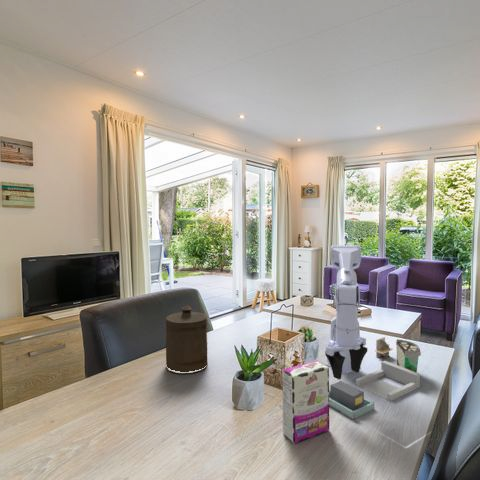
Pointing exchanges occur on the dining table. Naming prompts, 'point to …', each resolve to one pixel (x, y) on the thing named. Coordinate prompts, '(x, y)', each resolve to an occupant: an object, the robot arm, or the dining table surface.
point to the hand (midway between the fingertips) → (346, 374)
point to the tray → (351, 414)
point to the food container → (407, 354)
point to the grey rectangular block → (347, 395)
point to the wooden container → (186, 340)
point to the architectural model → (382, 348)
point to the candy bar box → (305, 401)
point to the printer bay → (385, 388)
